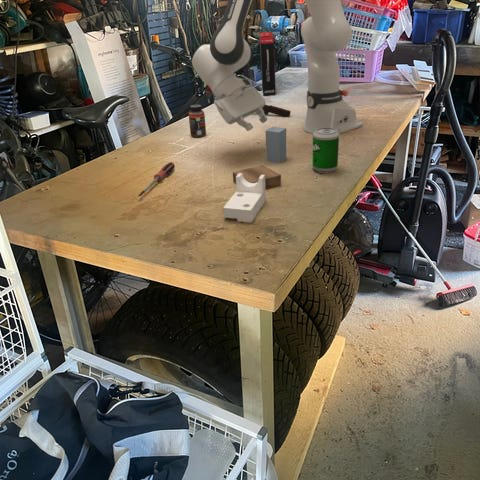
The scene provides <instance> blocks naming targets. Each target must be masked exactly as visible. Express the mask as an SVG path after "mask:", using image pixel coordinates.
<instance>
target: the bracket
mask: <svg viewBox="0 0 480 480" xmlns="http://www.w3.org/2000/svg"><path fill="white" fill-rule="evenodd" d="M235 187H236V191H235V192H234V194H233V195H232V196H231V197H230V198H229V200H228V201H227V202H226V203H225V205H224V206H223V207H222V212H223V218H226V219H227V218H229V219H235V220H236V219H237V222H241V221H243V222H242V223H252V222H253V221H254V219H255V218H256V216H257V215H258V213H259V212H260V211H261V208H262V207H263V205H264V204H265V202H266V199H267V198H266V194H267V193H266V189H265V175H261V176H260V177H259V180H258V182H257V183H249V182H247V181H246V180H245V179H244V177H243V174H242V173H239V174H238V175H237V176H236V183H235Z"/></svg>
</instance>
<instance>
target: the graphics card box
mask: <svg viewBox="0 0 480 480" xmlns="http://www.w3.org/2000/svg"><path fill="white" fill-rule="evenodd" d="M258 35H259V53H260V55H259V56H260V72H261V86H262V95H263V96H264V97H265V96H276V94H277V93H276V91H277V90H276V89H277V87H276V86H277V85H276V57H275V42H274V41H275V39H274V34H273V32H271V31H266V32H265V31H263V32H259V34H258ZM263 96H262V97H263Z"/></svg>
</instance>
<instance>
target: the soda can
mask: <svg viewBox="0 0 480 480" xmlns="http://www.w3.org/2000/svg"><path fill="white" fill-rule="evenodd" d="M339 143H340V134H339V133H338V132H337V131H336V129H334V128H319V129H317V130H316V131H315V132H314V133H312V159H311V161H312V163H311V164H312V165H311V167H312V168H313V169H314V171H315V172H317V173H320V174H330V173H333V172H335V170H336V169H337V168H338V165H339V164H338V163H339V145H340V144H339Z"/></svg>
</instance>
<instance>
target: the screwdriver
mask: <svg viewBox="0 0 480 480" xmlns="http://www.w3.org/2000/svg"><path fill="white" fill-rule="evenodd" d="M174 169H175V163H174V162H172V161H170V162H168V163H167V164H165V165H163V166H162V168H161V169H160V170H159V171H158V173H156V174H155V175H153V180H152V181H151V182H150V183H149V184H148V185H147V186H146V187H145V188H144V189H143V190H142V191H141V192H140V193H139V194H138V195H137V197H141V196H143V195H144V194H145V193H146V192H147V191H148V190H149V189H151V188H152V186H153V185H155V184H156V183H161V182H162V181H163V179H165V178H166V177H167V176H169V175H170V174H171V173H172V172H173V171H174Z"/></svg>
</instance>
